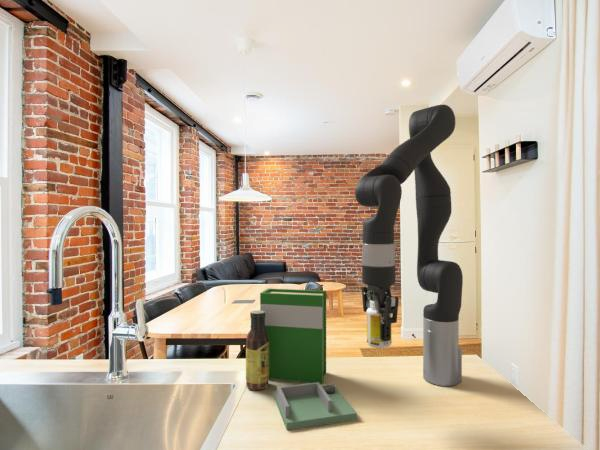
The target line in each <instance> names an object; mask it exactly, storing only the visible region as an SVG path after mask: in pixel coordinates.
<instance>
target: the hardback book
mask: <svg viewBox="0 0 600 450" xmlns="http://www.w3.org/2000/svg"><path fill="white" fill-rule="evenodd" d="M259 300H260V303H259V308H260V310H261V311H265V330H266V333H267V336H268V339H269V380H276V381H278V380H279V381H289V382H290V381H291V382H297V383H298V382H299V383H315V382H319V383H320V385H324V375H327V290H318V289H317V290H316V289H315V290H314V289H312V290H311V289H294V288H293V289H289V288H266V289H265V290H263V291H261V292H260V295H259Z"/></svg>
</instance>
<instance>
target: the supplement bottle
mask: <svg viewBox="0 0 600 450" xmlns="http://www.w3.org/2000/svg"><path fill="white" fill-rule="evenodd" d="M380 309H382V310H383V309H385V308H380ZM384 314H385V313H383V316H384ZM380 324H381V323H380V318H379V314H377V313H376V308H375V302H374V301H373V300H370V308H368V309H367V314H366V343H367V345H368V346H369V347H372V348H375V349H376V348H377V349H387V348H389V347H391V346H392V338H391V339H390V340H389V341H382V340H381V339H380Z"/></svg>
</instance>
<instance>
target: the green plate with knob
mask: <svg viewBox="0 0 600 450" xmlns="http://www.w3.org/2000/svg"><path fill="white" fill-rule="evenodd" d="M273 399H274V401H275V404H276V406H277V408H278V409H277V410H278V411H279V414H280V416H281V419H282V422H283V424H284V426H285V428H286V431H289V430H291V431H292V430H296V429H303V428H309V427H317V426H323V425H329V424H330V425H331V424H336V423H337V424H338V423H344V422H352V421H357V420H358V417H357V416H358V412H357V411H356V410H355V409H354V408H353V406H352V405H351V404H350V403H349V401H348V400H347V399H346V398H345V396H344V395H343V394H342V393H341V391H340V390H339V389H338V387H337V386H336V385H335V384H333V383H332V384H320V383H319V382H315V383H308V382H305V383H299V384H291V385H282V386H281V385H280V386H276V390H274V391H273Z"/></svg>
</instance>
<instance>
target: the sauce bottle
mask: <svg viewBox="0 0 600 450" xmlns="http://www.w3.org/2000/svg"><path fill="white" fill-rule="evenodd" d="M249 313H250V314H249V315H250V330H249V331H248V333H247V336H246V338H245V339H246V346H245V381H246V382H245V383H246V385H245V386H246V388H248V389H250V390H254V391H259V390H264V389H265V388H268V386H269V380H270V379H269V339H268V336H267V333H266V330H265V311H261V310H259V309H258V310H252V311H250V312H249Z"/></svg>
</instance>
